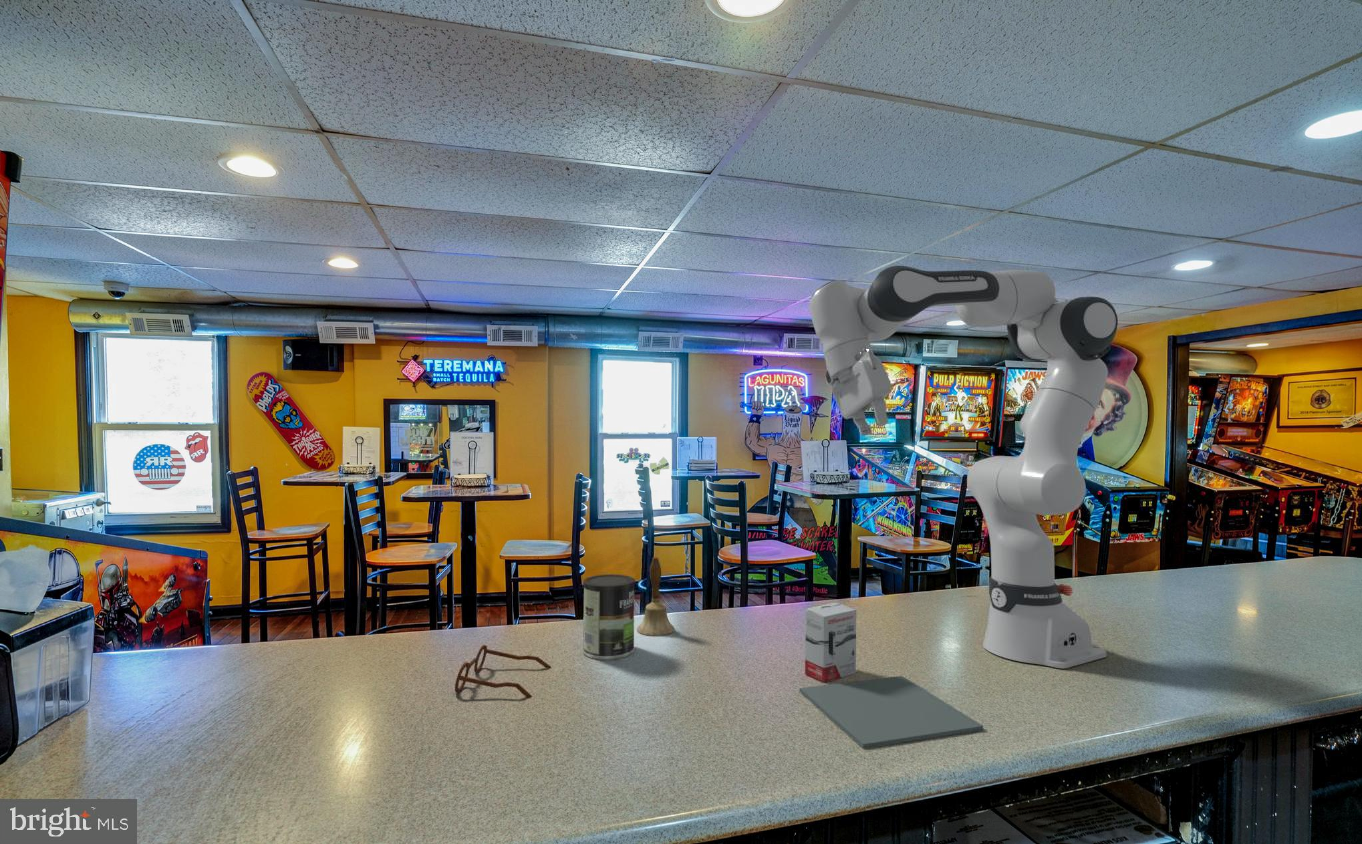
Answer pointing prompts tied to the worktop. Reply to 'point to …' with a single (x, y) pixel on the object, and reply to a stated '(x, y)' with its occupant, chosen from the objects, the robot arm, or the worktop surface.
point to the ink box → (830, 642)
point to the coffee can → (608, 616)
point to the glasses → (490, 684)
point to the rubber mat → (888, 711)
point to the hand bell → (655, 608)
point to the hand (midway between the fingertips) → (874, 430)
